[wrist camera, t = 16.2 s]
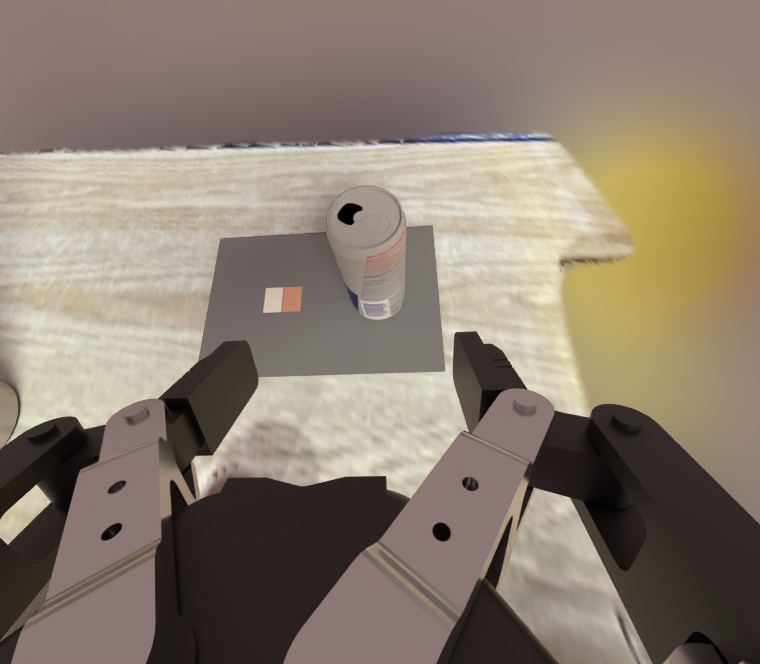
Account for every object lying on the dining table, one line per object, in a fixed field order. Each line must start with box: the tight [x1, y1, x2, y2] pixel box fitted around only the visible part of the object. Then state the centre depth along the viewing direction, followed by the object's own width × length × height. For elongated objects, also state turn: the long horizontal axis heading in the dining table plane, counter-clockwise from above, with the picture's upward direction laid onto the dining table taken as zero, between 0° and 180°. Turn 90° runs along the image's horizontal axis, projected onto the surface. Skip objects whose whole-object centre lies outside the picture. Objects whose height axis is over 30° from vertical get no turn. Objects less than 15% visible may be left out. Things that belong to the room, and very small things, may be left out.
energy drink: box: [326, 186, 406, 320], centre depth 25 cm, size 5×5×12 cm
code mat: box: [199, 226, 445, 377], centre depth 31 cm, size 24×16×1 cm, turn 91°
